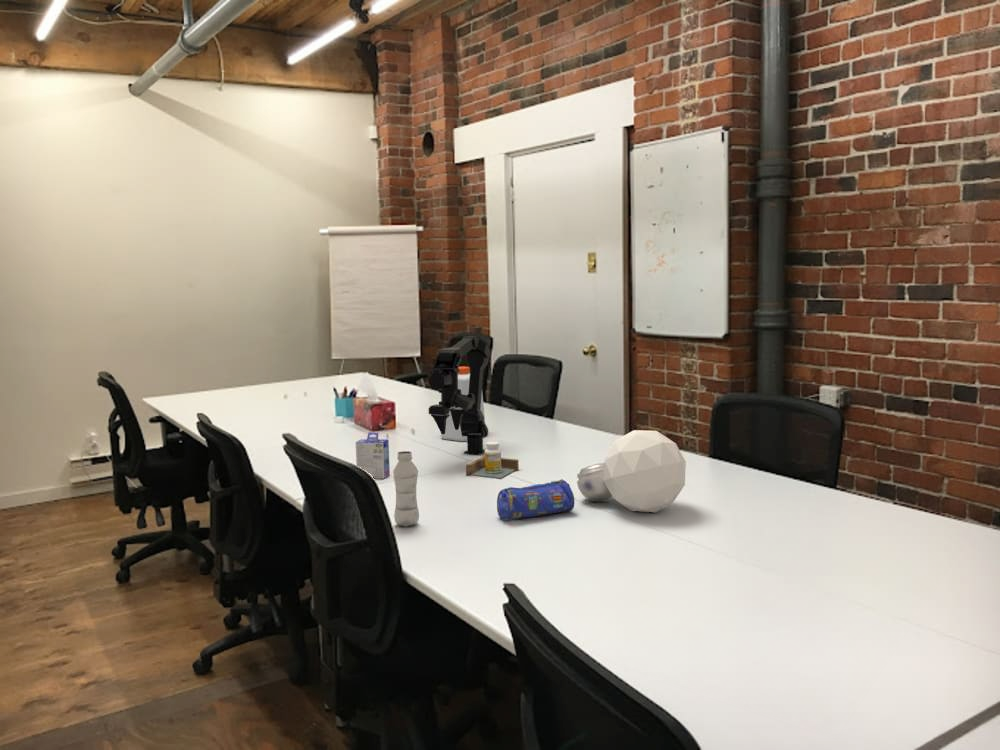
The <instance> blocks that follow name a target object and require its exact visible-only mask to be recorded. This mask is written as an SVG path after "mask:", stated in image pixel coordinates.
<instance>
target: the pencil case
mask: <svg viewBox="0 0 1000 750" xmlns="http://www.w3.org/2000/svg"><path fill="white" fill-rule="evenodd" d="M574 507H575V495H574V492H573V490H572V488H571V487H570V484H569V483H568V482H567V481H566V480H564V479H562V478H561V479H559V480H552V481H550V482H546V483H545V482H544V483H539V484H538V483H537V484H533V485H529V486H523V487H507V488H503V489H501V490H500V491H499V492H498V494H497V498H496V509H497V510H496V511H497V516H498V517H499V519H500V520H503V521H510V520H517V519H522V518H523V519H524V518H533V517H538V516H544V515H545V516H546V515H551V514H552V515H553V514H556V513H557V514H558V513H562V512H566V513H569V512H572V511H573V509H574Z"/></svg>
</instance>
